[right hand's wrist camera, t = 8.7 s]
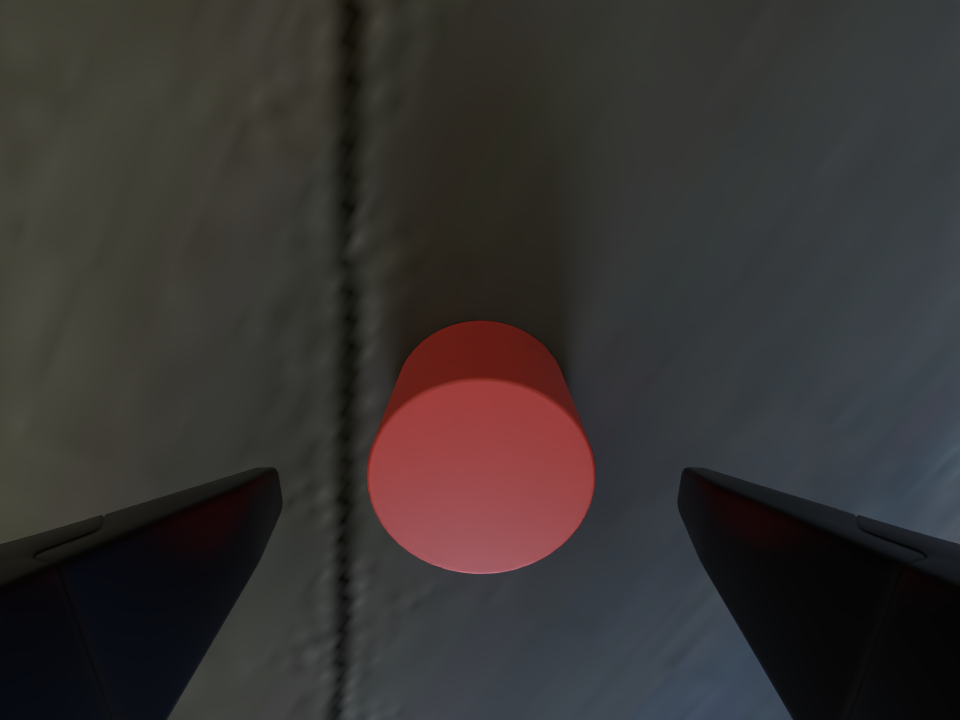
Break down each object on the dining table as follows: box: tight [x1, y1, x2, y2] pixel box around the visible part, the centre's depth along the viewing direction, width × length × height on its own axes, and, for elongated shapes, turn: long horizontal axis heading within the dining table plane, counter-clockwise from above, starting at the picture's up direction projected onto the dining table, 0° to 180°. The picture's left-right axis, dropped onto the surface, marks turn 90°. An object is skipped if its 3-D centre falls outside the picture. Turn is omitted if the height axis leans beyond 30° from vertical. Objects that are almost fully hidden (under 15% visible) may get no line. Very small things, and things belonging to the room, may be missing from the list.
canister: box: [367, 321, 596, 574], centre depth 13 cm, size 5×5×4 cm
